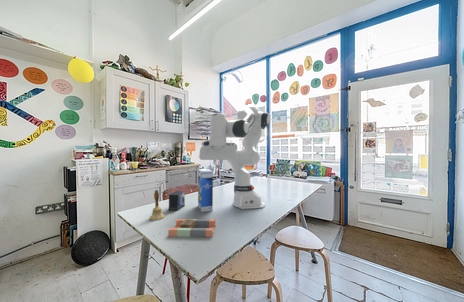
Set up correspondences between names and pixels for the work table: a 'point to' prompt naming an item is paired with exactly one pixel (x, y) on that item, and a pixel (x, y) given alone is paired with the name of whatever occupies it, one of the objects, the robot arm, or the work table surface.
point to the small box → (176, 200)
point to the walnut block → (188, 224)
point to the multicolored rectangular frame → (194, 231)
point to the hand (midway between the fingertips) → (218, 168)
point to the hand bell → (156, 209)
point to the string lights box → (205, 190)
